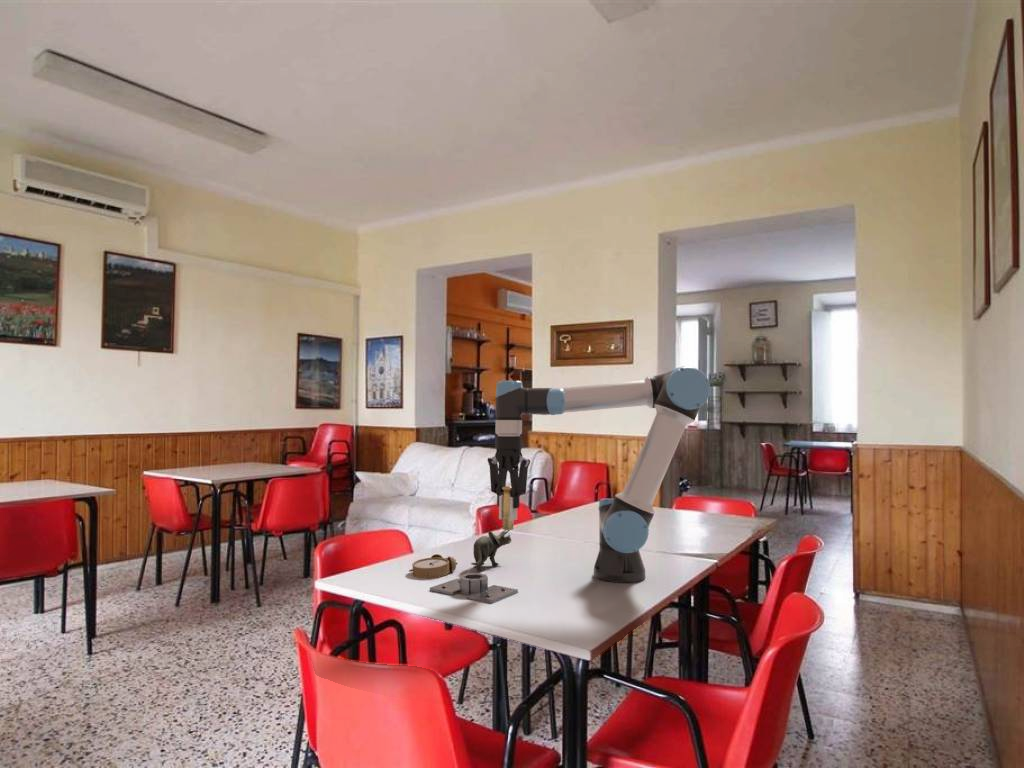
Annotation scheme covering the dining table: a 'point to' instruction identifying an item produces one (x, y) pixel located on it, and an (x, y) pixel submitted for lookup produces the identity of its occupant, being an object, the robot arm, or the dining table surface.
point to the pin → (507, 508)
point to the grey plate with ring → (474, 588)
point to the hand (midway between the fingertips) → (508, 519)
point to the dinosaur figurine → (489, 548)
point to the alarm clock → (433, 566)
